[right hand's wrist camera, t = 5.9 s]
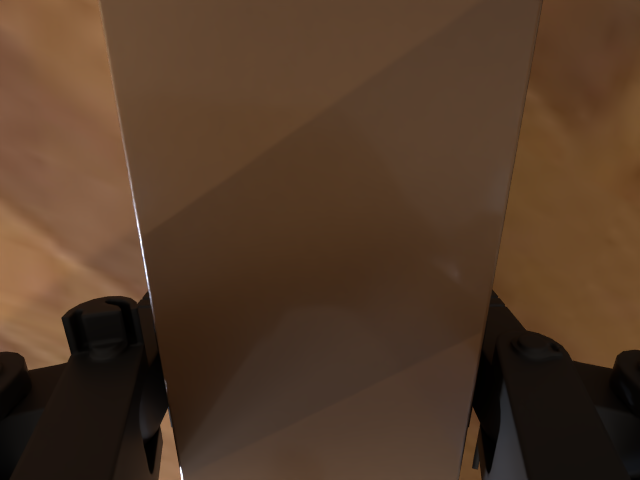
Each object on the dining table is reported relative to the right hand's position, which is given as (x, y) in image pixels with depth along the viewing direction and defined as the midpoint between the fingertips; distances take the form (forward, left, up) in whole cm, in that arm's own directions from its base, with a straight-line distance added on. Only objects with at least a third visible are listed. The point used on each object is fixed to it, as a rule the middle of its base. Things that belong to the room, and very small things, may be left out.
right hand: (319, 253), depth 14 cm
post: (-14, -25, -1) cm, 29 cm away
